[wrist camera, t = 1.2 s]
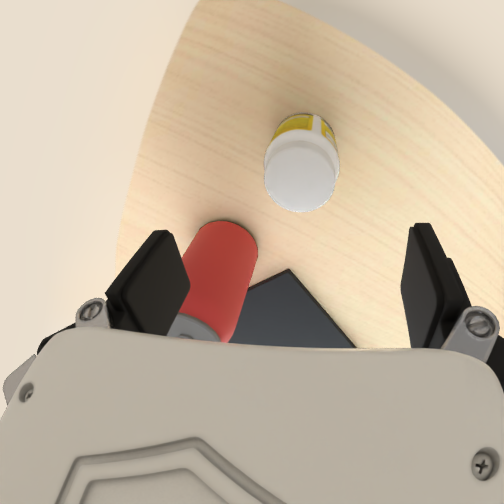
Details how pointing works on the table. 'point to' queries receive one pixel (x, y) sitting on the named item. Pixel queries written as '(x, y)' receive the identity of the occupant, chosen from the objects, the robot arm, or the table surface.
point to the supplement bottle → (301, 163)
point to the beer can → (215, 282)
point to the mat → (286, 317)
